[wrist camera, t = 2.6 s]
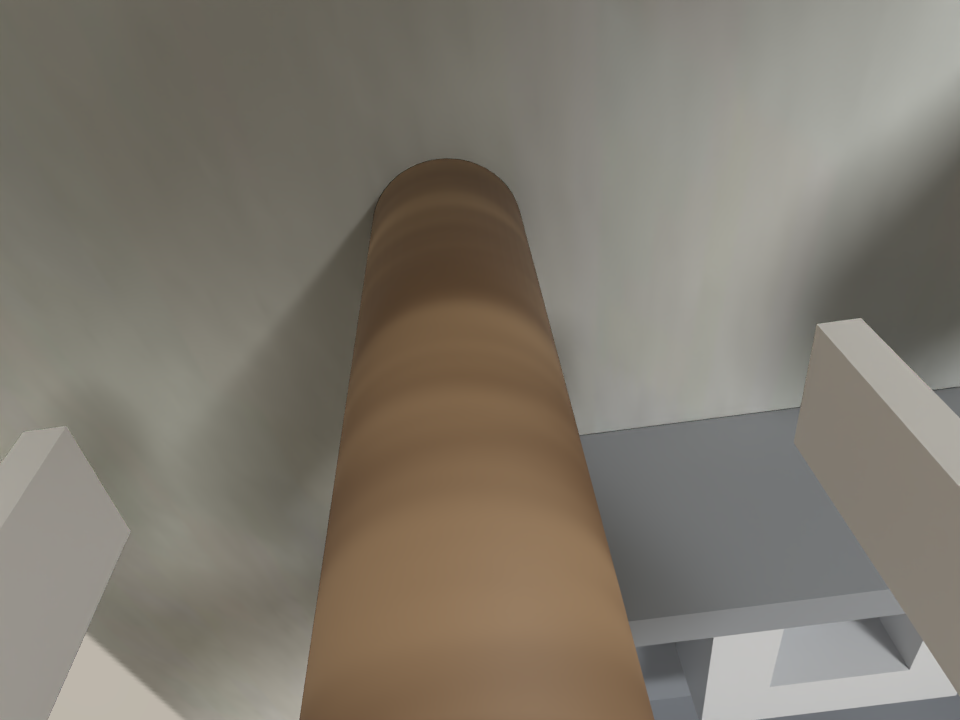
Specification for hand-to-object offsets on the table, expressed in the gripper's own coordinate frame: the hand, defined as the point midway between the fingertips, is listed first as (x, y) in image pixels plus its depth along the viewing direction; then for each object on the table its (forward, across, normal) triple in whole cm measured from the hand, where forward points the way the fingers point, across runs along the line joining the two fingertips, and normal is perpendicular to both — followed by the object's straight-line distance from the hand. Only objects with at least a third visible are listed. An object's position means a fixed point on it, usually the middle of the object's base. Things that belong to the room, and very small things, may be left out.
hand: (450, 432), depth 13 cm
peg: (+8, 0, 0) cm, 8 cm away
